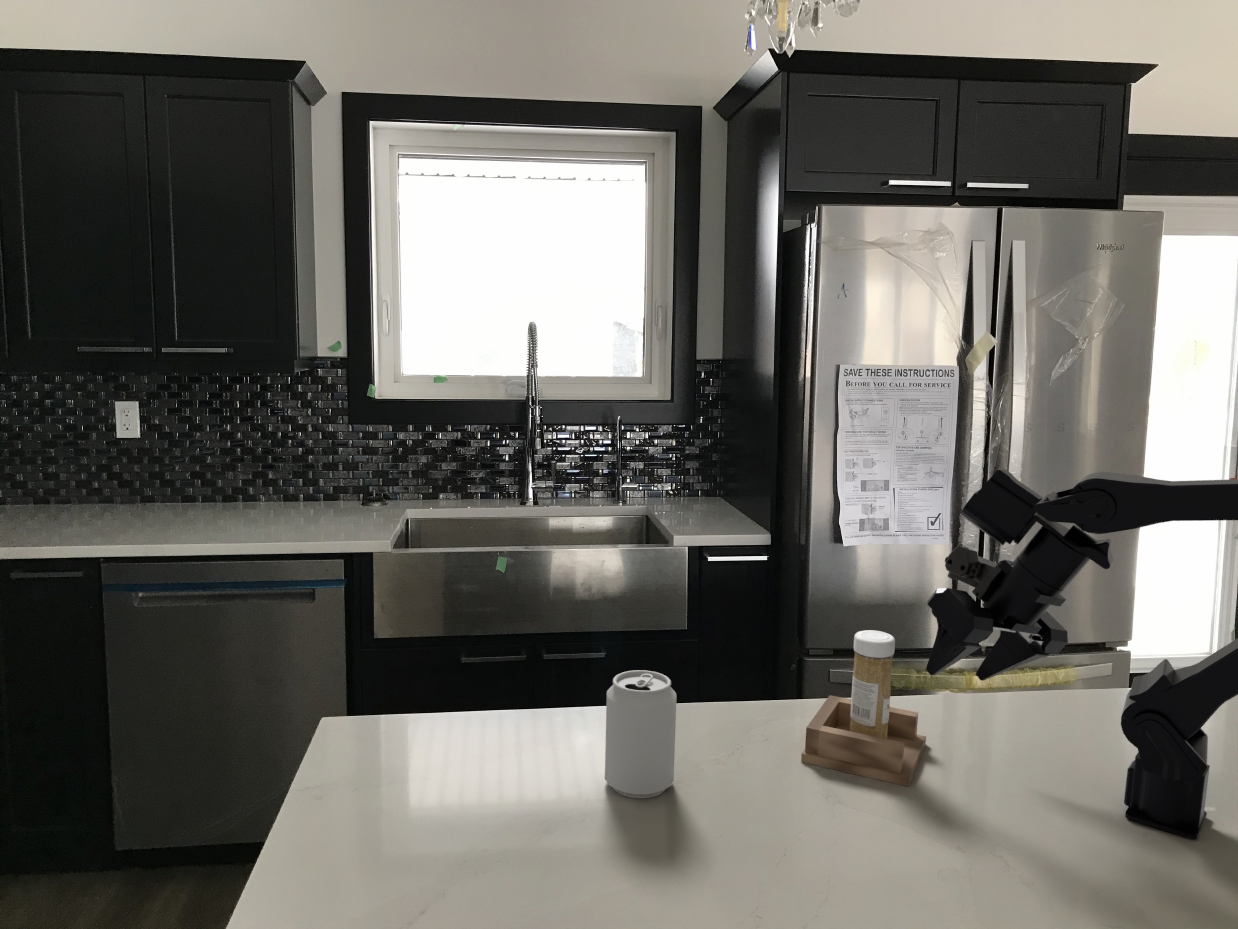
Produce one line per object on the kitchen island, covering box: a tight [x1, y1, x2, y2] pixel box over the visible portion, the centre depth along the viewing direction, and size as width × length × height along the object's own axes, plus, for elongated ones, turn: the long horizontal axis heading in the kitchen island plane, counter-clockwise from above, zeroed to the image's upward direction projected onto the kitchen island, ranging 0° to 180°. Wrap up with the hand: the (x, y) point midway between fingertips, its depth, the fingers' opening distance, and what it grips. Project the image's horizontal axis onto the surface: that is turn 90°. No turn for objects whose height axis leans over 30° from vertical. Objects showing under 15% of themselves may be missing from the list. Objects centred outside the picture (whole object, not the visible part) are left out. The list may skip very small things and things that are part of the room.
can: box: [604, 669, 677, 799], centre depth 100 cm, size 8×8×12 cm
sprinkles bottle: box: [850, 629, 896, 739], centre depth 109 cm, size 5×5×13 cm
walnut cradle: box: [800, 694, 927, 787], centre depth 110 cm, size 12×12×4 cm
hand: (954, 675), depth 107 cm, fingers open, 9 cm apart
